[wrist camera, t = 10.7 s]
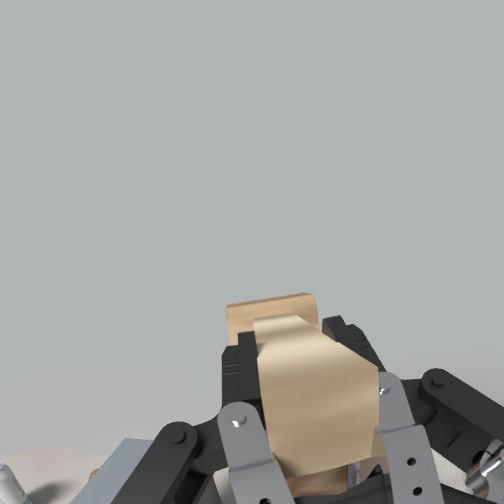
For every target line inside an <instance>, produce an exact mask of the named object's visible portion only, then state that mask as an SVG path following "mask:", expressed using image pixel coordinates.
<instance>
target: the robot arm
mask: <svg viewBox="0 0 504 504" xmlns="http://www.w3.org/2000/svg"><path fill="white" fill-rule="evenodd" d="M322 322H323V323H322V333H323V334H324V335H326V336H327V337H329V338H330V339H332V340H333V341H335V342H336V343H337V342H339V343H341V344H342V345H344V346H345V347H347V348H348V349H350V350H352V351H353V352H355V353H356V354H358V355H359V356H361V357H363V358H364V359H366V360H367V361H369V362H371V363H372V364H374V365H375V366H377V367H378V376H379V425H378V426H375V427H374V435H373V442H372V449H371V455H370V457H369V458H366V459H363V460H360V468H359V484H358V485H356V486H354V487H352V488H351V489H349V490H347V491H345V492H343V493H341V494H337V495H306V496H300V497H295V498H293V497H292V495H291V492H290V490H289V488H288V485H287V483H286V480H285V478H284V475H283V473H282V471H281V468H280V466H279V463H278V461H277V460H276V459H275V457H274V454H273V452H272V451H270V445H269V441H268V439H267V436H266V433H265V430H267V428H266V422H265V416H264V410H263V404H262V398H261V390H260V381H259V372H258V363H257V357H258V351H257V343H256V337H255V331H254V330H253V331H246V332H239V333H237V335H238V345H232V346H227V347H226V349H225V350H224V352H223V354H222V407H221V410H220V412H219V413H218V414H217V415H216V416H215V417H214V418H213V419H211V420H210V421H207V422H205V423H202V424H199V425H196V426H191V425H190V424H188V423H185V422H172V423H170V424H167V425H166V426H164V427H163V428H162V430H161V431H160V432H159V434H158V435H157V437H156V438H155V440H154V441H153V443H152V444H151V446H150V447H149V448H148V450H147V451H146V453H145V454H144V456H143V457H142V459H141V460H140V462H139V463H138V465H137V466H136V467H135V469H134V470H133V472H132V473H131V475H130V476H129V478H128V479H127V480H126V482H125V483H124V485H123V486H122V488H121V489H120V490H119V492H118V493H117V495H116V496H115V498H114V499H113V500H112V502H111V503H110V504H198V502H199V501H200V499H201V497H202V495H203V493H204V491H205V489H206V488H207V486H208V484H209V482H210V480H211V478H212V476H213V474H214V472H215V471H218V470H221V469H224V468H227V467H229V478H230V482H231V486H232V489H233V493H234V496H235V499H236V503H237V504H504V407H502V406H501V405H499V404H498V403H496V402H494V401H493V400H491V399H490V398H488V397H487V396H485V395H483V394H482V393H480V392H479V391H477V390H476V389H474V388H472V387H471V386H469V385H468V384H466V383H464V382H462V381H461V380H460V379H458V378H456V377H455V376H453V375H452V374H450V373H449V372H447V371H445V370H443V369H438V368H434V369H430V370H428V371H427V372H425V373H424V375H423V377H422V379H412V380H401V379H399V378H398V377H397V376H396V375H394V374H392V373H389V372H387V371H386V370H385V368H384V366H383V365H382V363H381V361H380V360H379V358H378V356H377V355H376V353H375V351H374V350H373V348H372V347H371V345H370V343H369V341H368V340H367V338H366V336H365V335H364V333H363V331H362V330H360V329H359V328H358V327H357V326H355V325H354V324H351V325H347V326H346V324H345V322H344V320H343V319H342V317H341V316H340V315H338V316H333V317H329V318H324V319H323V321H322ZM431 448H432V449H434V450H435V451H436V452H438V453H439V454H440V455H442V456H443V457H444V458H446V459H447V460H449V461H450V462H451V463H453V464H454V465H455V466H457V467H458V468H460V469H461V470H463V471H464V472H465V473H467V479H466V481H465V485H466V486H467V487H469V488H472V490H473V491H474V495H475V496H474V495H471V494H468V493H465V492H462V491H460V490H457V489H454V488H452V487H449V486H447V485H444V484H442V483H440V482H439V478H438V473H437V469H436V466H435V462H434V458H433V454H432V451H431Z"/></svg>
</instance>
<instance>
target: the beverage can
mask: <svg viewBox="0 0 504 504" xmlns="http://www.w3.org/2000/svg"><path fill="white" fill-rule="evenodd" d="M0 498H1V499H2V501H3V502H4V504H32V502H31V501H30V499H29V498H28V497H27V495H26V494H25V492H24V490H23V489H22V487H21V486H20V484H19V483H18V481H17V479H16V478H15V476H14V474H13V472H12V471H11V469H10V468H9V467H8V466H7V465H6V464H5V463H4V462H3V461H2V460H1V459H0Z"/></svg>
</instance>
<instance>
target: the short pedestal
mask: <svg viewBox="0 0 504 504" xmlns="http://www.w3.org/2000/svg"><path fill="white" fill-rule="evenodd" d="M153 441H154V440H140V439H127V438H125V439H124V440H123V441H122V443H121V444H120V445H119V446H118V447H117V449H116V450H115V451H114V452H113V453H112V455H111V456H110V457H109V458H108V459H107V460H106V462H105V463H104V464H103V465H102V466H101V468H100V469H99V470H98V471H97V472H96V474H95V475H94V476H93V477H92V478H91V479H90V481H89V482H88V483H87V484H86V485H85V486H84V488H83V489H82V490H81V491H80V492H79V493H78V495H77V496H76V497H75V498H74V499H73V500H72V501H71V503H70V504H110V503H111V502H112V500H113V499H114V498H115V496H116V495H117V493H118V492H119V490H120V489H121V488H122V486H123V485H124V483H125V482H126V480H127V479H128V478H129V476H130V475H131V473H132V472H133V470H134V469H135V467H136V466H137V465H138V463H139V462H140V460H141V459H142V457H143V456H144V454H145V453H146V451H147V450H148V448H149V447H150V446H151V444H152V443H153ZM198 504H222V502H221V499H220V497H219V494H218V491H217V488H216V485H215V482H214V479H213V476H212V478H211V480H210V482H209V484H208V486H207V488H206V489H205V491H204V493H203V495H202V497H201V499H200V501H199V502H198Z"/></svg>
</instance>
